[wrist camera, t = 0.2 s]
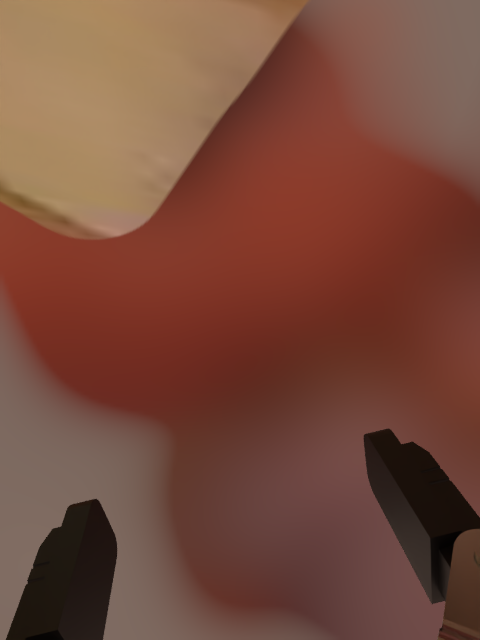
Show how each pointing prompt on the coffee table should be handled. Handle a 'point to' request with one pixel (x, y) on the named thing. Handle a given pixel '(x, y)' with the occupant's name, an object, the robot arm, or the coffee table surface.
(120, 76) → the coffee table surface
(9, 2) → the coffee table surface
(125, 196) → the coffee table surface
